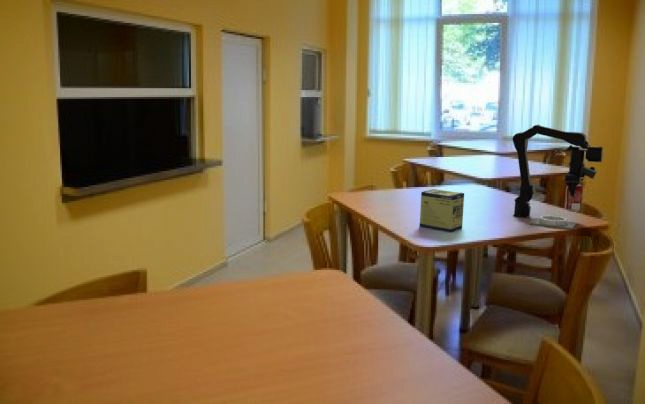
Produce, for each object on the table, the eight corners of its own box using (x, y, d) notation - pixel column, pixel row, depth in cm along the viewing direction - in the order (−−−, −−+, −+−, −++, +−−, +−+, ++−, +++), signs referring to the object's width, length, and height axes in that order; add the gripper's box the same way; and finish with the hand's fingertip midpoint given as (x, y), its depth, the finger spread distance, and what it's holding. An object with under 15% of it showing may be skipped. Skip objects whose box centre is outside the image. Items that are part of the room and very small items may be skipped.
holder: (529, 224, 261) (529, 218, 260) (534, 219, 271) (535, 213, 271) (572, 229, 252) (573, 223, 252) (576, 224, 262) (577, 218, 262)
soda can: (581, 212, 263) (584, 185, 261) (565, 211, 264) (568, 185, 262) (578, 209, 269) (580, 183, 267) (563, 208, 271) (565, 183, 269)
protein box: (451, 232, 244) (453, 196, 241) (418, 226, 254) (420, 191, 251) (463, 228, 252) (465, 192, 249) (431, 223, 262) (432, 188, 259)
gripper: (593, 164, 251) (590, 200, 254) (598, 160, 267) (595, 193, 269) (566, 162, 256) (563, 197, 259) (572, 158, 272) (569, 191, 275)
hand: (573, 195), depth 266 cm, fingers closed on soda can, 7 cm apart
